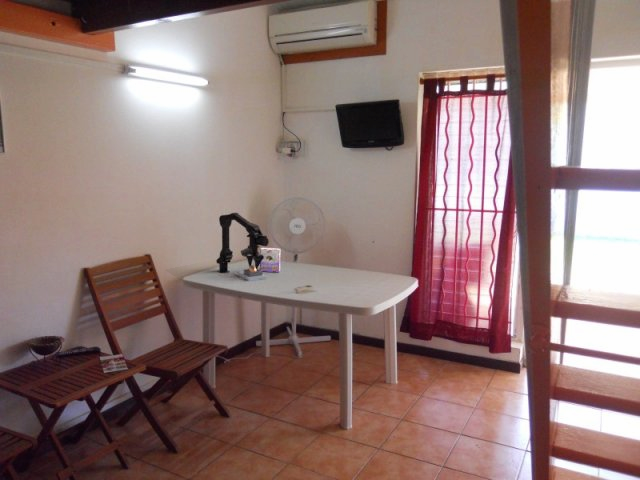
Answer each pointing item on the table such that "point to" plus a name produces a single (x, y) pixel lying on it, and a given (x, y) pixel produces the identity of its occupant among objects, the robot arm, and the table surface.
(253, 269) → the copper canister
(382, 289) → the table surface
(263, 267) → the candy box
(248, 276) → the grey square socket base
